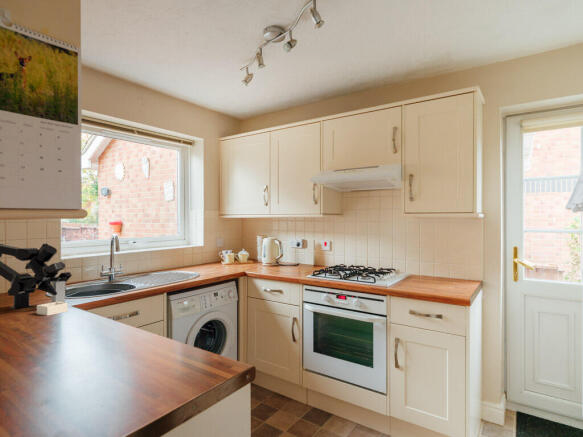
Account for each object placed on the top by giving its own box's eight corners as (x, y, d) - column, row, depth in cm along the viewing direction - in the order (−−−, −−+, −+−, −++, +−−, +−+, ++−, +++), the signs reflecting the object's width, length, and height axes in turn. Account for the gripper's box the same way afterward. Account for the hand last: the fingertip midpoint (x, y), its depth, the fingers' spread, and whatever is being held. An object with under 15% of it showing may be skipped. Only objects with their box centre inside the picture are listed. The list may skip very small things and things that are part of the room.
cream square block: (36, 313, 142) (36, 305, 142) (57, 309, 149) (57, 301, 149) (47, 315, 138) (47, 306, 138) (67, 311, 145) (67, 303, 145)
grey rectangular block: (50, 308, 151) (50, 282, 151) (60, 306, 155) (61, 280, 155) (55, 309, 149) (56, 282, 149) (66, 307, 153) (66, 281, 153)
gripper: (32, 258, 144) (53, 284, 142) (68, 255, 163) (88, 278, 160) (16, 276, 146) (37, 302, 143) (54, 271, 164) (73, 294, 161)
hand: (61, 293), depth 152 cm, fingers closed on grey rectangular block, 5 cm apart
